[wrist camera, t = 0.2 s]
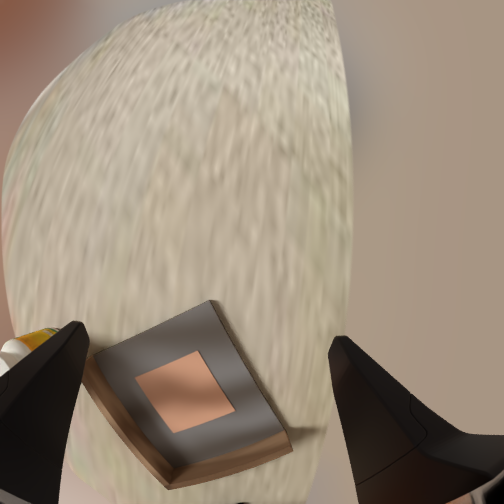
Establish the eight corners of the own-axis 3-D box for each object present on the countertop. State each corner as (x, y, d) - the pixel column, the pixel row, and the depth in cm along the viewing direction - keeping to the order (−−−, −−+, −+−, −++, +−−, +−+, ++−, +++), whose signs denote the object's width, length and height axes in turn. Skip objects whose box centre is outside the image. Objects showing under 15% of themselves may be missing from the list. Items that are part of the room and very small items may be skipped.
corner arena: (286, 431, 23) (293, 451, 20) (172, 471, 22) (168, 490, 19) (209, 299, 23) (205, 305, 20) (89, 356, 22) (73, 367, 19)
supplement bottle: (67, 382, 22) (18, 419, 12) (35, 351, 22) (-19, 375, 12) (83, 348, 22) (27, 381, 13) (48, 315, 22) (-13, 333, 12)
